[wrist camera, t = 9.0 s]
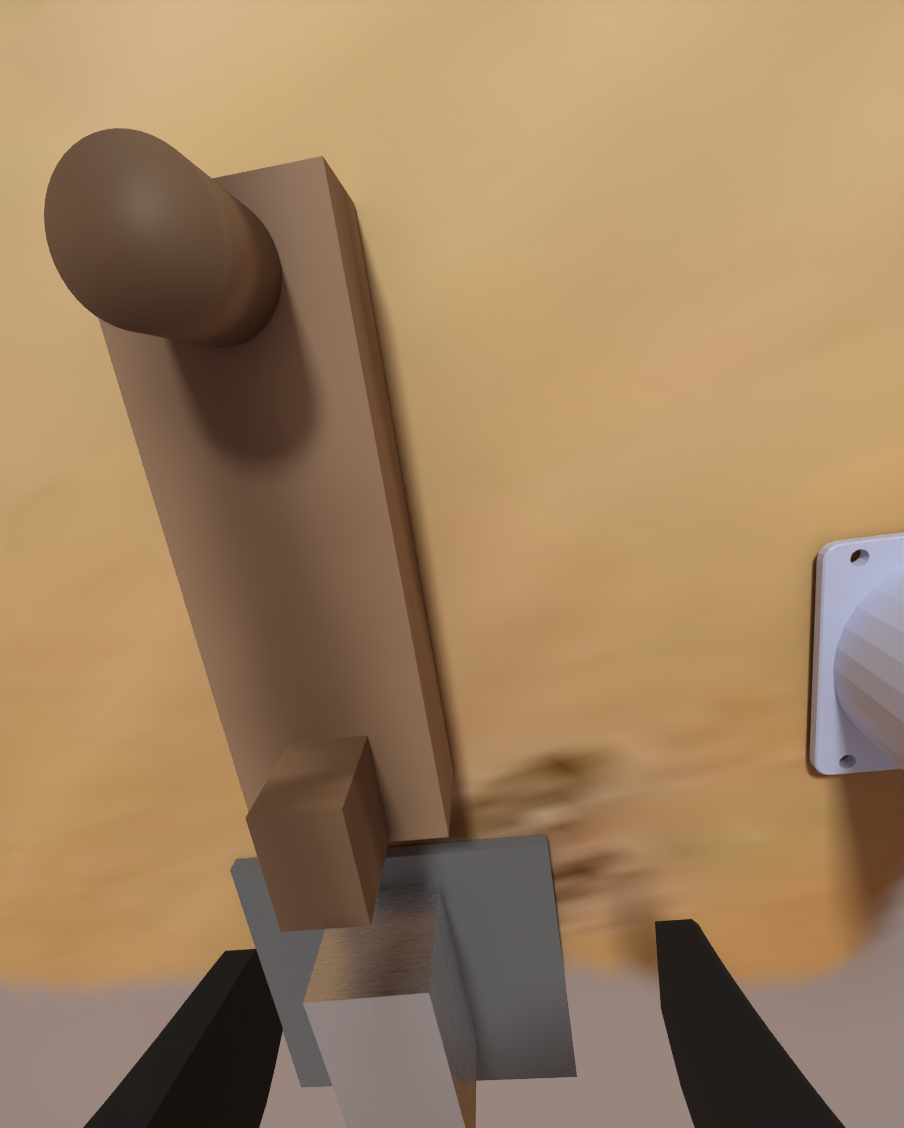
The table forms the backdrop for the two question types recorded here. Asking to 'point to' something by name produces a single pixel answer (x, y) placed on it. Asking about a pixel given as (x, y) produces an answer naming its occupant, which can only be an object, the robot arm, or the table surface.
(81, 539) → the table surface
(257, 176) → the plane body
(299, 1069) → the mat
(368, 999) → the lever cap
